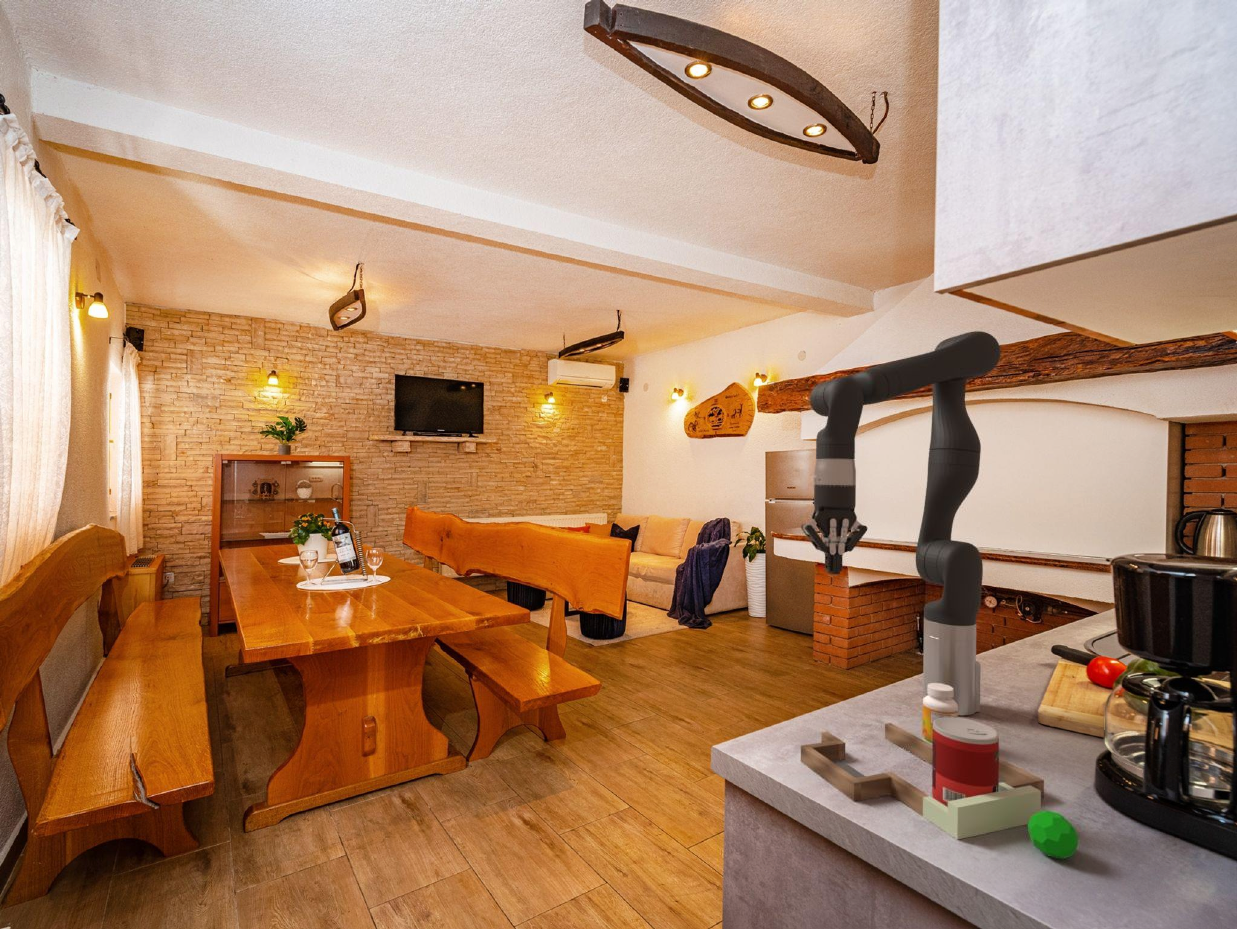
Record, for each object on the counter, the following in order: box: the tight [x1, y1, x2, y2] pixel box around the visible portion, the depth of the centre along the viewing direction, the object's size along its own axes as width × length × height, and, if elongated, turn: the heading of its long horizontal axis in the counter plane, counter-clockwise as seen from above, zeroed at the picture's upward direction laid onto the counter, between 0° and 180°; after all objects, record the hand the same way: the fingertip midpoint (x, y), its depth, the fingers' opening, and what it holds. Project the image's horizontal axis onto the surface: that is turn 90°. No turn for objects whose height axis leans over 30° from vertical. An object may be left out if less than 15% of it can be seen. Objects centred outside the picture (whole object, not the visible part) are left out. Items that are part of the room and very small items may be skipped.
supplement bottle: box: [921, 683, 959, 745], centre depth 105 cm, size 5×5×10 cm
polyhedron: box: [1027, 809, 1079, 860], centre depth 74 cm, size 5×5×5 cm
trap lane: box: [800, 722, 1045, 817], centre depth 94 cm, size 23×27×2 cm
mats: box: [830, 758, 1007, 783], centre depth 92 cm, size 17×24×1 cm
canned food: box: [931, 717, 1000, 807], centre depth 85 cm, size 8×8×11 cm
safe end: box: [922, 782, 1042, 840], centre depth 82 cm, size 6×14×4 cm, turn 109°
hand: (833, 573), depth 116 cm, fingers closed
